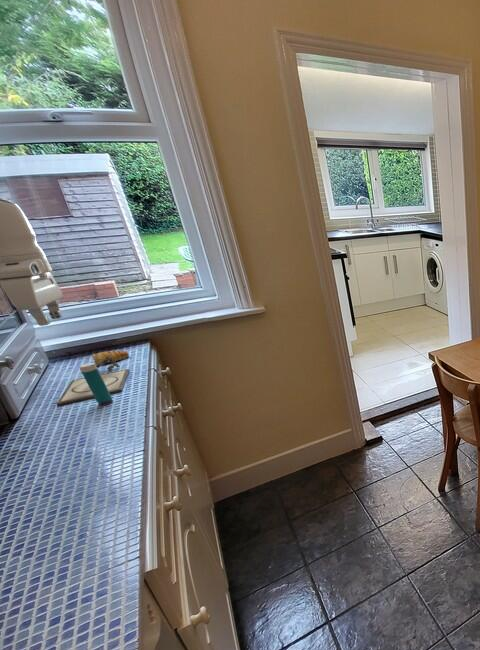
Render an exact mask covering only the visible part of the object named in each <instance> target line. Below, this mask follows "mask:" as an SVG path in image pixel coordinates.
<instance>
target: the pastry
mask: <svg viewBox="0 0 480 650" xmlns="http://www.w3.org/2000/svg"><path fill="white" fill-rule="evenodd" d="M111 356H112V357H113V359H112V360H113V361H114V362H115V363H116V361H117V362H119V361H118V360H120V361H122V359H123V360H125V359H127V358H129V356H130V355H129V353H128V351H125V350H106V351H101V352H98V353H92V358H93V361H94V363H95V365H98V364H99V363H101V362H102V361H105V359H106V357H111ZM108 362H110V361H108ZM108 362H106V363H105V364H109V363H108Z"/></svg>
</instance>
